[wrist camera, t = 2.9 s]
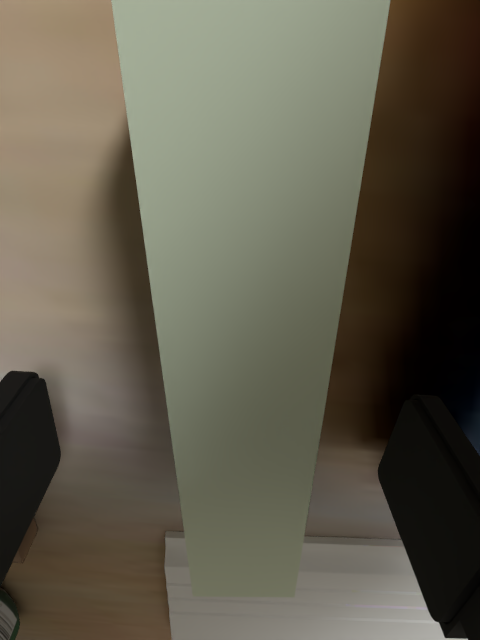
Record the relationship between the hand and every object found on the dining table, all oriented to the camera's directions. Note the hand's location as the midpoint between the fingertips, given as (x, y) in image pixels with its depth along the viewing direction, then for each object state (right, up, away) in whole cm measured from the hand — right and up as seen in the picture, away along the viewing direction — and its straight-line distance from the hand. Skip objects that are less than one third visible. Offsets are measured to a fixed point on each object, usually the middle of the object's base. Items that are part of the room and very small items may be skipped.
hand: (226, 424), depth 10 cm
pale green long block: (+1, +2, +3) cm, 4 cm away
